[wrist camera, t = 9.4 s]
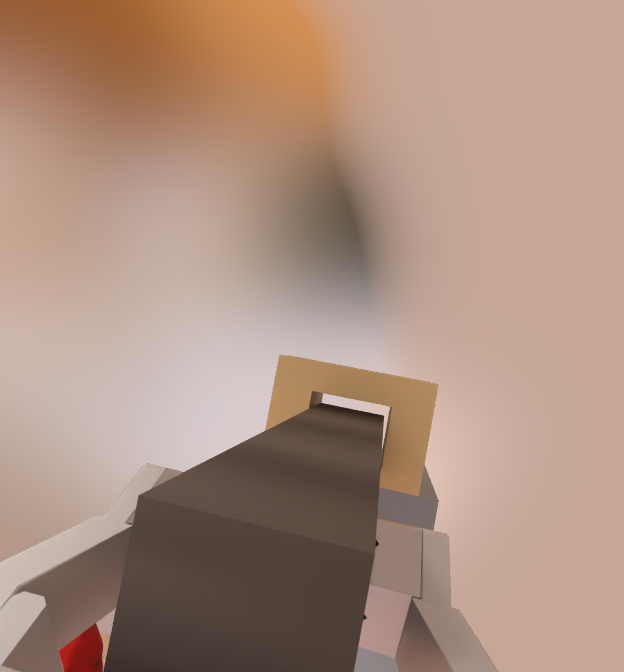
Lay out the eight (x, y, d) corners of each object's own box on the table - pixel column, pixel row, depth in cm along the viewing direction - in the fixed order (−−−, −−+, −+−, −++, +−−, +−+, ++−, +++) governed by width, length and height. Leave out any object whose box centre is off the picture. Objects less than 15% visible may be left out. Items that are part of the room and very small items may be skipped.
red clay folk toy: (43, 690, 39) (82, 501, 39) (114, 729, 36) (154, 526, 37) (-56, 760, 32) (-8, 527, 32) (24, 813, 29) (75, 560, 30)
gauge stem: (334, 778, 7) (374, 554, 7) (97, 702, 7) (139, 495, 7) (373, 471, 26) (384, 415, 26) (310, 457, 27) (320, 402, 27)
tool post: (348, 1015, 23) (458, 388, 24) (150, 935, 24) (261, 351, 26) (361, 794, 35) (434, 382, 36) (227, 750, 36) (301, 356, 37)
